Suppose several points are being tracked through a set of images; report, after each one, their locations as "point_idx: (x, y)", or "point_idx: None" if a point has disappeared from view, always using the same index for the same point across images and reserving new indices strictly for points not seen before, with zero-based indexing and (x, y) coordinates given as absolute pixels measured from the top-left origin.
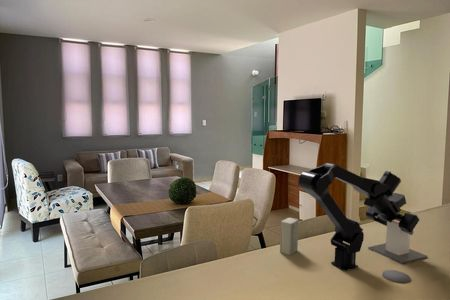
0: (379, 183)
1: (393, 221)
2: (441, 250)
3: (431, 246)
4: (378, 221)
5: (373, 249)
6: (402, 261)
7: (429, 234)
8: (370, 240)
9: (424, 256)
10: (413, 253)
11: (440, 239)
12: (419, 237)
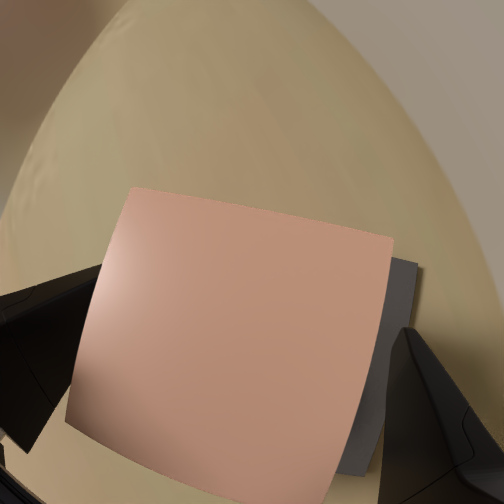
0: None
1: (173, 474)
2: (396, 118)
3: (343, 103)
4: (35, 432)
5: None
6: (357, 469)
7: (265, 16)
8: None
9: (413, 288)
10: None
11: (318, 27)
12: (252, 54)
